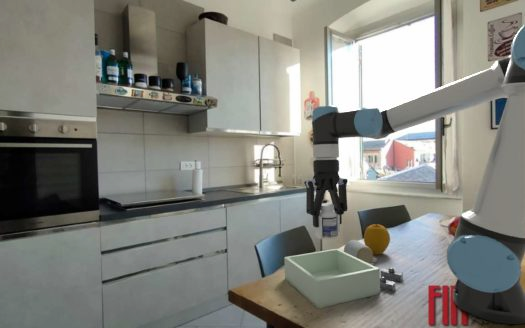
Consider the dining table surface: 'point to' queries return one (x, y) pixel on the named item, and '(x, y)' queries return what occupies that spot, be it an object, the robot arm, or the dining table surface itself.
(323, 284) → the bin
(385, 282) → the bracket
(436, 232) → the dining table surface
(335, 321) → the dining table surface
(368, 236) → the orange
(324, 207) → the pill bottle
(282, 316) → the dining table surface
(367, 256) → the ceramic mug
